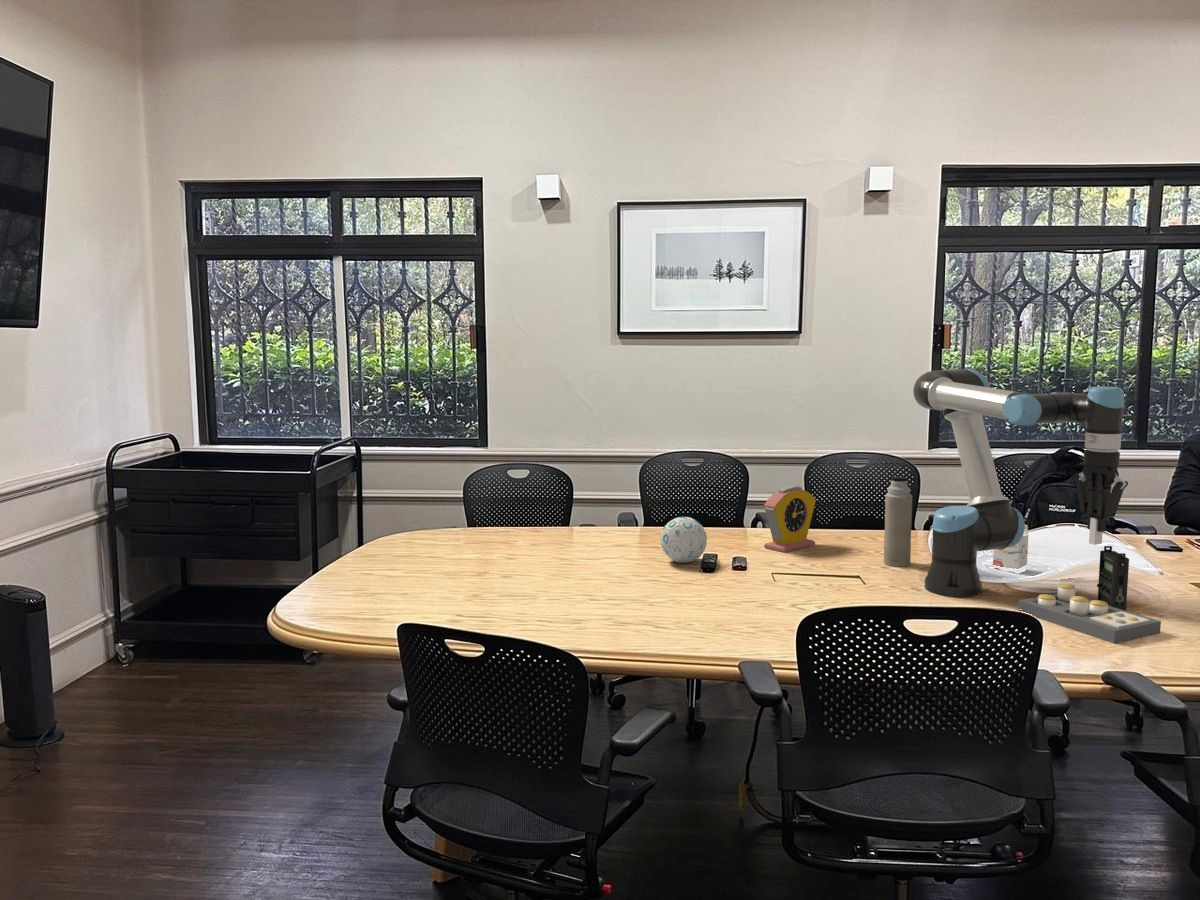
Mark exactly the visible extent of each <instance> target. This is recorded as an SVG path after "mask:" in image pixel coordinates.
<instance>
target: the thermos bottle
mask: <svg viewBox="0 0 1200 900" xmlns="http://www.w3.org/2000/svg"><path fill="white" fill-rule="evenodd" d="M890 479H891V481H890V486H888V487H887V493H886V494H885V498H884V499H885V500H884V501H885V503H884V507H885V509H884V536H883V537H884V538H883V539H884V541H883V542H884V544H883V545H884V546H883V564H884V565H886V566H889V567H890V566H891V567H897V568H900V567H901V568H902V567H903V568H904V567H905V568H906V567H909V566H910V565H911V556H912V555H911V550H912V540H911V538H912V516H913V515H912V513H913V495H912V494H911V491H912V490H911V488H910V487H909V486H908V479H909V478H908V477H905V476H892V477H891V478H890Z"/></svg>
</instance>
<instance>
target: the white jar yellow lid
mask: <svg viewBox="0 0 1200 900" xmlns="http://www.w3.org/2000/svg"><path fill="white" fill-rule="evenodd" d="M1088 600H1089V599H1088V598H1087V597H1086V596H1081V595H1075V596H1072V597H1071V599H1070V610H1069V613H1070V614H1073V615H1076V616H1079V617H1084V616H1088V608H1089V601H1088Z"/></svg>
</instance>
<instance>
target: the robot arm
mask: <svg viewBox="0 0 1200 900" xmlns="http://www.w3.org/2000/svg"><path fill="white" fill-rule="evenodd" d="M1087 392H1088V393H1078V392H1077V393H1076V392H1068V391H1054V392H1053V391H1052V392H1050V393H1041V394H1040V393H1035V394H1034V393H1033V394H1032V393H1027V392H1018V391H1013V390H1007V389H1001V388H994V387H991V386H990V383H989V381H988V379H987V378H986V376H985V375H984V374H983V373H981V372H980V371H978V370H975V369H965V368H963V369H962V368H961V369H946V370H945V369H944V370H943V369H942V370H937V369H936V370H931V371H927V372H924V373H923V374H922V375H920V376H919V377H918V378H917V379H916V381H915V382H914V385H913V397H914V400H915V402H916V403H917V404H918V405H919V406H921V407H922V408H924V409H927V410H935V411H942V412H943V417H944V420H947V421H949V422H950V423H951V427H952V431H953V435H954V439H955V443H956V446H957V447H956V448H957V451H958V456H959V459H960V464H961V467H962V472H963V476H964V480H965V483H966V485H965V486H966V490H967V492H968V496H969V497H968V498H969V501H968V503H967V504H966V505H957V506H956V505H950V506H949V505H948V506H945V507H942V508H939V509H937V510H936V511H935V512H934V514H933V522H932V523H931V524H932V525H931V527H932V537H931V538H932V543H931V544H932V548H931V563H930V565H929V568H928V571H927V575H926V576H925V578H924V588H925V589H926V590H927V591H929V592H931V593H934V594H937V595H941V596H948V597H957V598H958V597H960V598H961V597H962V598H963V597H967V598H968V597H975V596H979V595H981V594H982V593H983V582H982V581H981V579H980V573H979V569H978V566H977V557H978V556H977V554H978V552H984V551H992V550H994V549H1004V548H1008V547H1012V546H1014V545H1016V544H1017V543H1018V542H1019V541H1020V540H1021V537H1022V536H1023V534H1024V529H1025V525H1026V524H1025V520H1024V516H1023V514H1022V513H1021V511H1019V510H1018V509H1017V508H1015V507H1013V506H1012V505H1011V502H1010V499H1009V498H1008V497H1006V496H1004V495H1003V493H1002V490H1001V485H1000V483H999V482H1000V481H999V478H998V474H997V470H996V465H995V462H994V458H993V454H992V450H991V446H990V442H989V438H988V434H987V431H986V427H985V423H984V419H983V416H984V417H989V418H990V417H991V418H996V419H1001V420H1006V421H1008V423H1010V424H1011V425H1015V426H1016V425H1018V426H1029V425H1030V426H1031V425H1039V424H1041V425H1042V424H1059V423H1061V424H1062V423H1075V424H1084V425H1085V435H1084V436H1085V438H1084V439H1085V440H1084V448H1086V449H1085V450H1084V451H1083V464H1084V467H1083V469H1082V472H1079V473H1076V474H1073V475H1072V477H1073V480H1074V482H1075V484H1076V489H1077V498H1078V503H1079V504H1078V505H1079V510H1080V513H1081V514H1084V515H1086V516H1087V530H1089V538H1088V544H1089V545H1094V546H1095V545H1101V544H1102V543H1103V533H1105V532H1106V527H1107V520H1108V519H1110V518H1115V517H1116V514H1117V511H1118V508H1119V505H1120V502H1121V499H1122V496H1123V493H1124V490H1125V489H1126V488H1127V487H1128V485H1129V482H1128V481H1127V480H1123V479H1122V478H1121V477H1120V474H1119V471H1118V468H1119V466H1120V457H1121V453H1120V451H1119V450H1120V449H1121V445H1122V424H1123V416H1124V410H1125V409H1124V408H1125V404H1124V402H1125V393H1124V390H1123V389H1122V388H1121V387H1119V386H1118V387H1117V386H1091V387H1089V388H1088V391H1087ZM1112 486H1113V487H1112Z"/></svg>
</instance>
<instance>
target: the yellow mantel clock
mask: <svg viewBox="0 0 1200 900" xmlns="http://www.w3.org/2000/svg"><path fill="white" fill-rule="evenodd" d="M816 501H817V499H816V497H815V496H813V494H811V493H810V492H808V491H807V490H803V487H801V486H795V485H786V486H783V487H780V489H778V490H777V491H775V492H774V493H772V494H771V495H770V497H768V498H767V500H766V502H765V503H764V504H763V508H764V512H765V516H766V519H767V522H768V523H767V524H768V526H769V530H770V534H771V537H772V541H769V542H765V543H764V544H763V545H764V548H765V549H766V548H767V550H772V551H776V552H778V553H789V552H792V551H797V550H802V549H805V548H809V547H813V546H815V545H816V541H815V540H813V539H808V538H807V537H808V534H809V533H808V532H809V531H810V526H811V521H812V517H813V513H814V509H815V505H816Z"/></svg>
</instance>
